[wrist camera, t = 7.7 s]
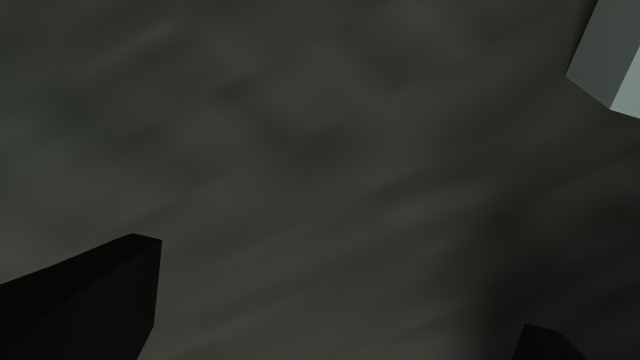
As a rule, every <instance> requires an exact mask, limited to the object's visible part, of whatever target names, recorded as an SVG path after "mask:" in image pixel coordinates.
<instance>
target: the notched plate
mask: <svg viewBox="0 0 640 360" xmlns="http://www.w3.org/2000/svg"><path fill="white" fill-rule="evenodd" d="M565 76H566V77H567V78H568V79H570V80H571V81H572V82H574V83H575V84H576V85H578V86H579V87H580V88H582V89H583V90H584V91H586V92H587V93H588V94H590V95H591V96H592V97H594V98H595V99H596V100H598V101H599V102H600V103H602V104H603V105H604V106H606V107H607V108H608V109H610V110H613V111H617V112H620V113H623V114H626V115H630V116H633V117H636V118H640V0H598V2H597V4H596V7H595V9H594V11H593V14H592V16H591V18H590V20H589V23H588V25H587V27H586V30H585V32H584V34H583V36H582V39H581V41H580V43H579V45H578V48H577V50H576V52H575V55H574V57H573V59H572V61H571V64H570V66H569V68H568V71H567V73H566V75H565Z"/></svg>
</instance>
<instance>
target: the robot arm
mask: <svg viewBox="0 0 640 360" xmlns="http://www.w3.org/2000/svg"><path fill="white" fill-rule="evenodd" d="M161 247H162V240H160V239H156V238H152V237H147V236H143V235H139V234H134V233H132V234H129V235H125V236H123V237H120V238H117V239H115V240H112V241H110V242H108V243H105V244H103V245H100V246H98V247H96V248H93V249H91V250H89V251H86V252H84V253H81V254H79V255H77V256H74V257H72V258H69V259H67V260H64V261H62V262H60V263H57V264H55V265H52V266H50V267H47V268H44V269H42V270H39V271H36V272H33V273H31V274H28V275H25V276H22V277H20V278H17V279H14V280H11V281H9V282H6V283H3V284H0V360H137V358H138V356H139V354H140V352H141V350H142V349H143V347H144V344H145V342H146V340H147V338H148V336H149V334H150V332H151V330H152V328H153V326H154V317H155V307H156V297H157V287H158V277H159V267H160V257H161ZM512 360H587V359H586V358H585V357H584V356H583V355H582V354H581V353H580V352H579V351H578V350H577V349H576V348H575V347H574V346H573V345H572V344H571V343H570V342H569V341H568V340H567V339H566V338H565V337H563V336H562V335H561V334H560V333H559V332H558V331H555V330H550V329H546V328H542V327H537V326H533V325H529V324H525V325H524V328H523V331H522V334H521V336H520V339H519V342H518V344H517V347H516V350H515V352H514V355H513V358H512Z"/></svg>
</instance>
